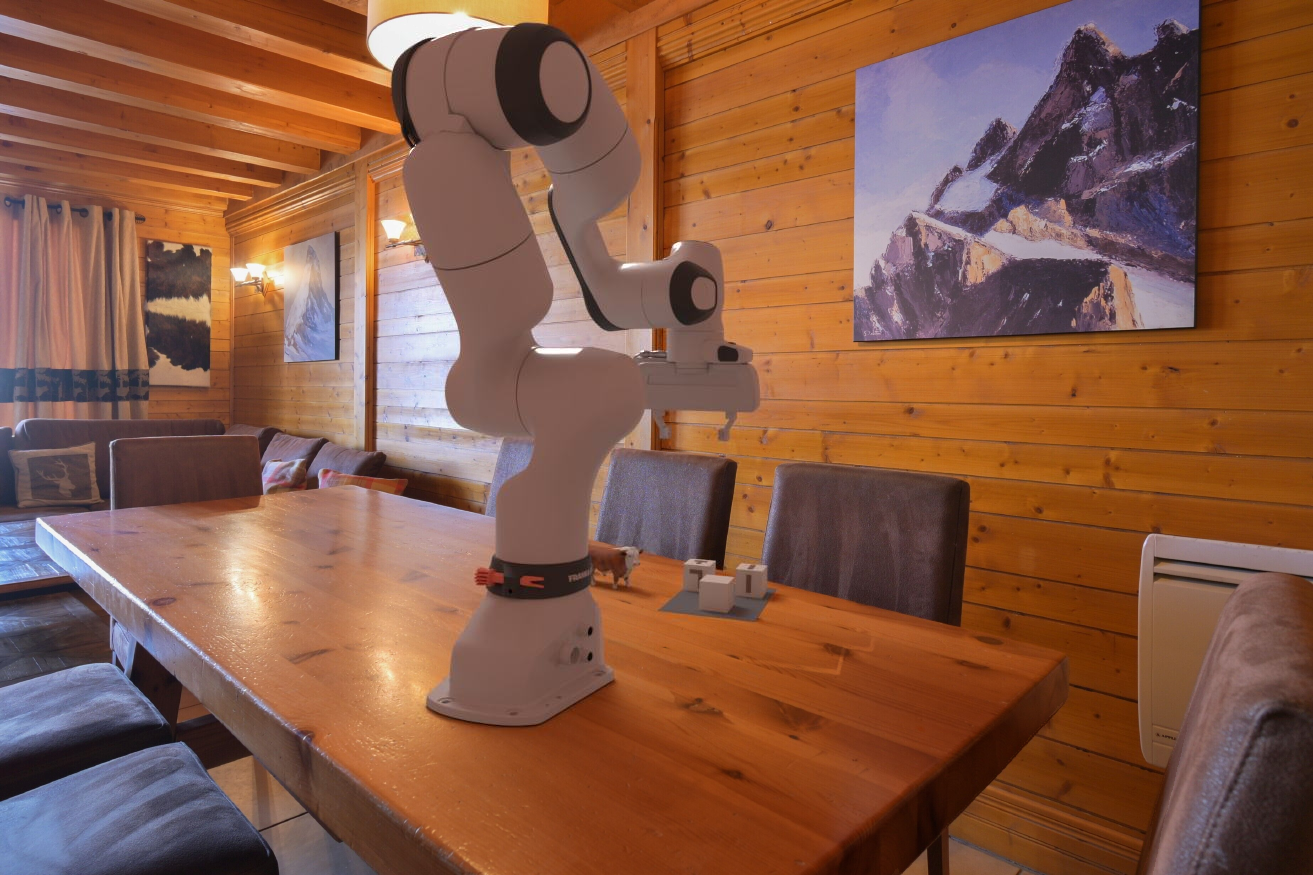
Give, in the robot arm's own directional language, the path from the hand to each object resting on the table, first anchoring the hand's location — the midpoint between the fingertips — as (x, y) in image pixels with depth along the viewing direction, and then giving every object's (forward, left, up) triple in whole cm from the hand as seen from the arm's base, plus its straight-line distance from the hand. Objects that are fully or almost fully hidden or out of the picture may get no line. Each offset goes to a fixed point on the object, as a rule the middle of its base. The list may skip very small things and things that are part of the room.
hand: (694, 439), depth 116 cm
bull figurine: (+6, +16, -27) cm, 32 cm away
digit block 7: (+10, +1, -26) cm, 28 cm away
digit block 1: (+10, -8, -26) cm, 29 cm away
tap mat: (+5, -4, -27) cm, 27 cm away
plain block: (0, -4, -26) cm, 27 cm away
